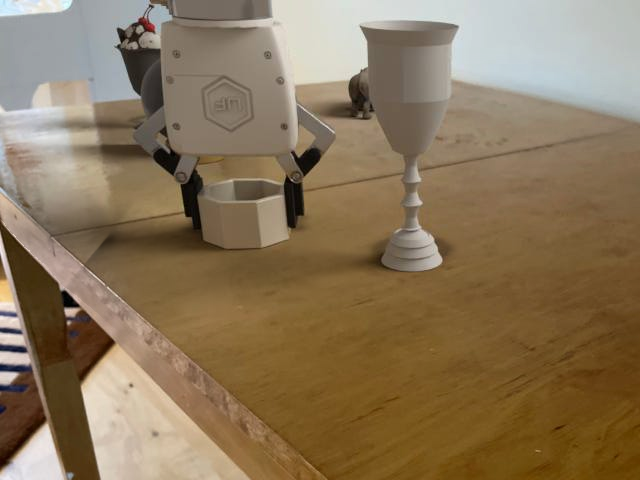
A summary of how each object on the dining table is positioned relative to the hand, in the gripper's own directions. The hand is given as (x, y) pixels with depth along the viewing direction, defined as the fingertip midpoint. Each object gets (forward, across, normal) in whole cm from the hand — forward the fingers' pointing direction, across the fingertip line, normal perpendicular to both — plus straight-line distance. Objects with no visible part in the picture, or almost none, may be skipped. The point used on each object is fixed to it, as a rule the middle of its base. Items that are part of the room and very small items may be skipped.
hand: (247, 222), depth 68 cm
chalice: (+1, +14, -7) cm, 16 cm away
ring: (+1, 0, 0) cm, 1 cm away
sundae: (+1, -17, +43) cm, 46 cm away
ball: (+1, -9, +27) cm, 28 cm away
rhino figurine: (+1, +11, +55) cm, 56 cm away
